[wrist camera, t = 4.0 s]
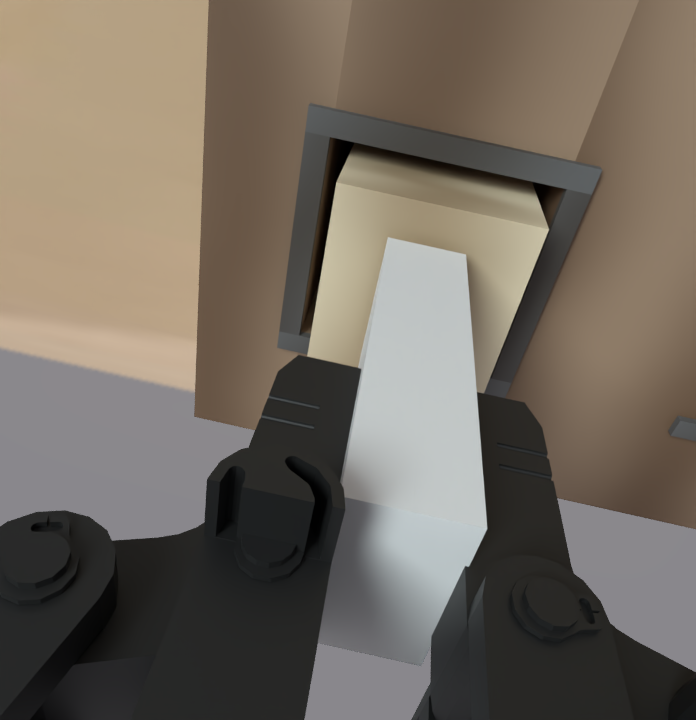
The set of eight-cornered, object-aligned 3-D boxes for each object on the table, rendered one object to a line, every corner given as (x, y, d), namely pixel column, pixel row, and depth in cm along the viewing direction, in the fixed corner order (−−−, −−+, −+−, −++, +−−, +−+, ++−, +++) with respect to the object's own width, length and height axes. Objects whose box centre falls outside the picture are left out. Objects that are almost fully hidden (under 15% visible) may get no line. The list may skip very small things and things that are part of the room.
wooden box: (994, 56, 17) (1421, 144, 10) (756, 381, 24) (897, 580, 17) (311, -93, 17) (208, -120, 10) (270, 273, 24) (191, 422, 17)
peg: (510, 123, 18) (549, 229, 11) (470, 247, 20) (483, 395, 13) (377, 93, 18) (336, 182, 11) (352, 221, 20) (307, 356, 13)
